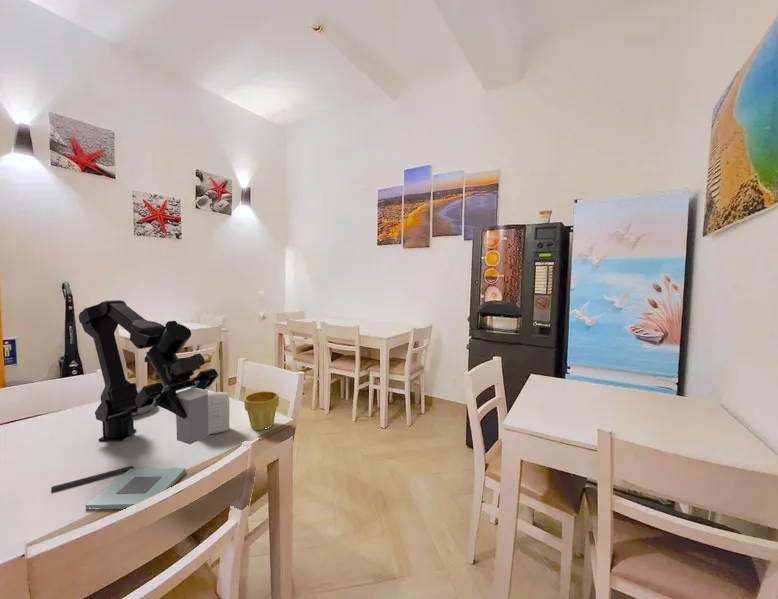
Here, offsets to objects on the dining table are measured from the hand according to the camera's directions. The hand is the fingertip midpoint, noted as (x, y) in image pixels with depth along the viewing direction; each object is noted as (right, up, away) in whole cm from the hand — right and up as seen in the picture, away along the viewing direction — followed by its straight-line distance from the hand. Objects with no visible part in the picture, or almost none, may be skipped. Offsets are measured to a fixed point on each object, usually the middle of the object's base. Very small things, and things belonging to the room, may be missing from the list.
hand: (195, 413), depth 85 cm
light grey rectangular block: (-1, -7, +1) cm, 7 cm away
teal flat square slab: (-7, -14, -9) cm, 18 cm away
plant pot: (+8, -12, +24) cm, 28 cm away
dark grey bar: (-21, -14, -6) cm, 26 cm away
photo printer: (-6, -12, +19) cm, 24 cm away
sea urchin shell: (-41, -11, +34) cm, 55 cm away
